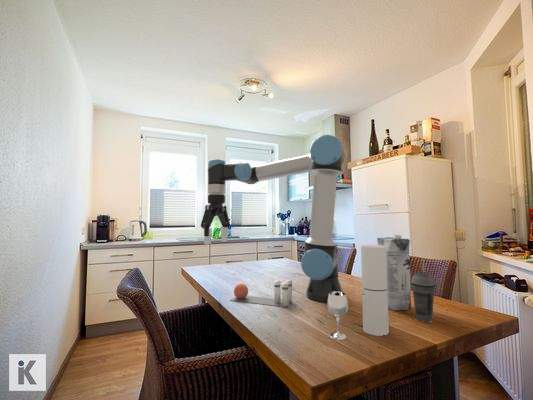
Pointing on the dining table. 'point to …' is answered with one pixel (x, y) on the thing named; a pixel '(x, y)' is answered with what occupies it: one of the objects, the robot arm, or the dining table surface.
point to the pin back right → (289, 290)
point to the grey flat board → (259, 301)
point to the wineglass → (337, 310)
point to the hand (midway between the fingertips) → (216, 242)
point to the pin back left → (285, 294)
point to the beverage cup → (423, 295)
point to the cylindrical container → (374, 289)
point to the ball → (241, 291)
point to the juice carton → (397, 272)
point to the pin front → (277, 291)
